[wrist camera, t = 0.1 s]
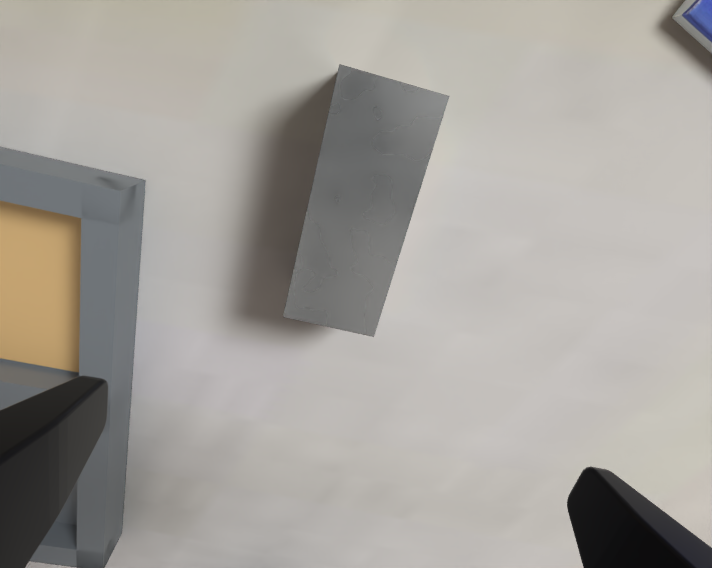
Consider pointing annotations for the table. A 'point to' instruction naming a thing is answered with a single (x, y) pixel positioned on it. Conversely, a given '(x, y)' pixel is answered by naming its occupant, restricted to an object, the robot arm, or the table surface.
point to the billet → (362, 199)
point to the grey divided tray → (72, 322)
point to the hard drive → (696, 20)
